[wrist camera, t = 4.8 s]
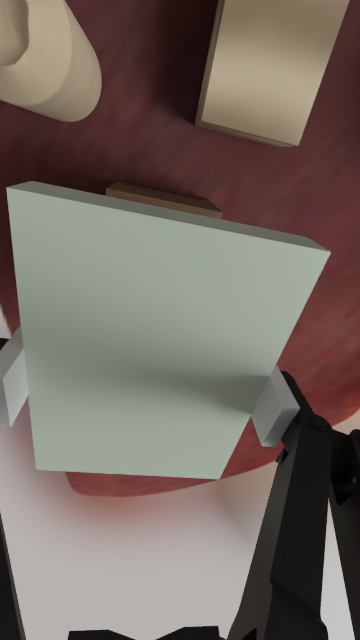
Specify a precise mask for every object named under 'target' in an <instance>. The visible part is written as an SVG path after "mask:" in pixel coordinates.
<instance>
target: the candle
mask: <svg viewBox="0 0 360 640" xmlns="http://www.w3.org/2000/svg"><path fill="white" fill-rule="evenodd" d="M101 84H102V80H101V70H100V66H99V62H98V59H97V56H96V54H95V51H94V49H93V47H92V45H91V44H90V42H89V40H88V39H87V37H86V35H85V34H84V32H83V30H82V29H81V27H80V25H79V24H78V22H77V20H76V19H75V17H74V15H73V13H72V12H71V10H70V8H69V7H68V5H67V3H66V2H65V0H0V100H2V101H5V102H7V103H10V104H13V105H16V106H18V107H21V108H24V109H27V110H30V111H33V112H36V113H39V114H42V115H44V116H47V117H50V118H53V119H56V120H60V121H64V122H74V121H79V120H81V119H83V118H85V117H86V116H88V115H89V114H90V113H91V112H92V111H93V110H94V108H95V107H96V105H97V103H98V100H99V97H100V93H101Z"/></svg>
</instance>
